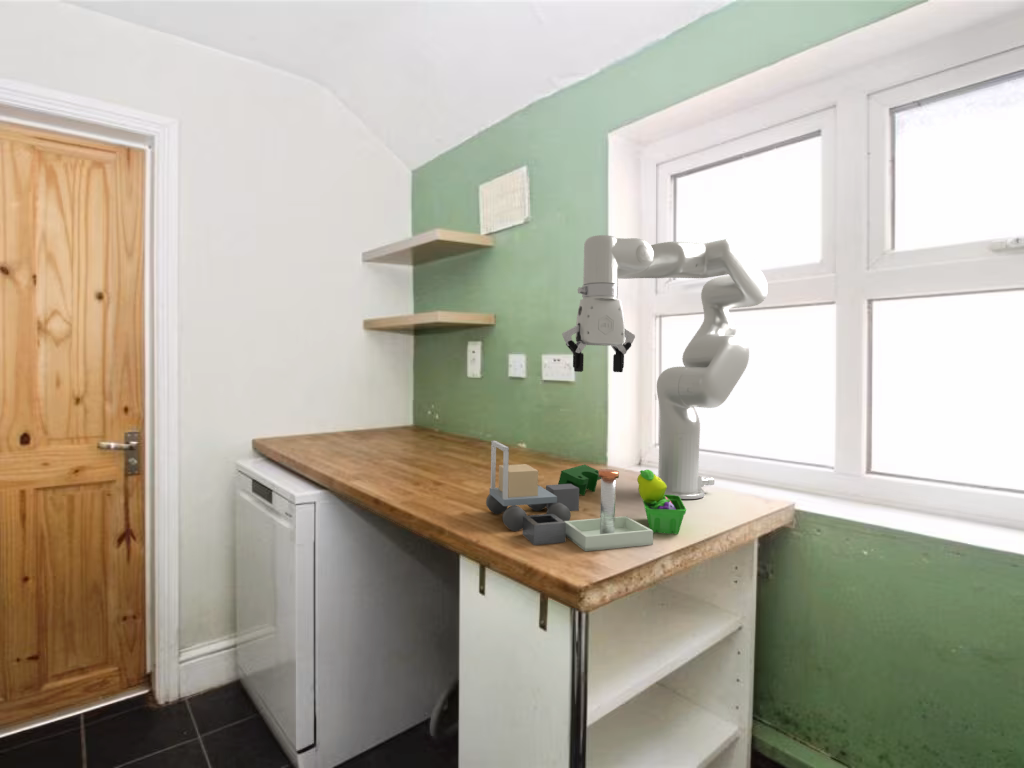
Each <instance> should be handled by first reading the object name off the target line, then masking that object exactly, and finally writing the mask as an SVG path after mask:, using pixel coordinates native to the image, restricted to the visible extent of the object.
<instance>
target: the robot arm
mask: <svg viewBox="0 0 1024 768" xmlns="http://www.w3.org/2000/svg"><path fill="white" fill-rule="evenodd" d="M713 277H714V278H713ZM582 278H583V280H582V281H583V282H582V283H583V284H582V286H579V287H578V288H577V293H578V294H580V295H582V296H581V298H582V299H580V300H579V305H578V310H577V316H576V325H574V326H573V327H571V328H569V329H567V330H565V331H563V332H562V334H561V335H562V338H563V340H564V342H565V346H567V348H568V349H569V350H570V352H571V353H572V368H573V369H574V372H578V373H579V372H580V373H581V372H583V371H584V360H585V358H584V353H583V352H582V351H583V350H584V348H586V346H606V347H607V346H608V347H609V346H610V347H611V348H612V349H613V351H614V352H615V354H613V358H612V359H613V360H612V363H613V364H612V371H613V373H623V371H624V366H625V355H626V354H627V353H628V350H629V349H630V348H631V347H632V344H633V342H634V340H635V338H636V335H635V334H634V333H632V332H631V331H630V330H627V329H626V328H625V317H624V316H625V315H624V309H623V304H622V300H621V299H618V295H619V293H618V292H619V290H618V288H619V286H618V285H619V280H621V279H622V280H623V279H625V280H626V279H629V280H630V279H633V280H634V279H669V278H670V279H677V278H678V279H708V278H711V279H709V280H708V281H707V282H706V283H705V284H704V285H703V287H702V289H701V293H700V296H701V297H700V298H701V299H700V300H701V304H702V308H703V322H702V324H701V326H700V327H699V329H698V330H697V332H696V333H695V335H694V336H693V337H692V338H691V340H690V342H689V343H688V344H687V345H686V347H685V349H684V351H683V353H682V358H681V359H682V364H683V365H684V366H673V367H668V368H667V369H664V370H663V371H662V372H661V373H660V374H659V376H658V377H657V380H656V395H657V398H658V405H659V435H658V436H659V441H658V443H659V444H658V447H659V448H658V473H657V474H658V475H657V477H659V478H660V479H661V480H662V481H664V482H665V484H666V486H667V488H666V491H665V494H664V495H676V496H679V497H680V499H681V500H697V499H701V498H703V497H705V491H704V489H702V488H703V487H705V486H713V485H715V479H714V478H713V477H705V478H703V476H701V475H699V467H700V466H699V463H700V461H699V460H700V439H701V438H700V435H701V423H700V418H699V415H698V413H697V411H696V409H695V408H702V409H703V408H704V409H705V408H707V409H711V408H712V409H713V408H717V407H720V406H721V405H722V404H723V403H725V402H726V400H727V399H728V398H729V396H730V395H731V393H732V392H733V390H734V388H735V386H736V385H737V383H738V382H739V380H740V379H741V377H742V375H743V374H744V373H745V371H746V368H747V367H748V364H749V360H750V350H749V349H750V348H749V346H748V344H747V342H746V341H745V340H744V339H743V338H742V337H740V336H738V335H736V332H737V330H736V329H737V328H736V324H735V321H734V320H733V318H732V316H731V314H730V310H729V309H739V308H750V307H754V306H759V305H760V304H762V303H763V302H764V301H765V300H766V298H767V296H768V291H769V290H768V289H769V288H768V282H767V279H766V277H765V275H764V273H763V272H762V271H761V270H760V268H759V266H758V265H757V263H756V262H755V259H753V257H752V256H751V255H750V253H749V252H748V250H746V248H745V247H744V246H743V245H742V244H741V243H740V242H738V241H737V240H736V239H733V238H726V239H720V240H717V241H711V242H706V243H697V242H684V241H683V242H682V241H665V242H659V243H654V244H649V242H647V241H646V240H644V239H641V238H632V237H631V238H628V237H627V238H618V237H615V236H612V235H608V234H600V235H599V234H598V235H593V236H589V237H588V238H586V240H585V241H584V247H583V276H582ZM573 335H575V341H576V342H575V341H574V340H573V338H572V336H573Z"/></svg>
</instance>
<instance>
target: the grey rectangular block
mask: <svg viewBox="0 0 1024 768" xmlns="http://www.w3.org/2000/svg"><path fill="white" fill-rule="evenodd" d="M545 489H546V490H547V491H549V492H551V493H552V494H554V495H555V496H557V503H562V504H563V505H565V506H566V507H568V508H569V510H570V512H577V511H579V510H580V494H579V488H578V487H576V486H574V485H572V484H557V483H556V484H545ZM552 504H554V503H547V506H546V507H545V508H546V509H547V510H548V508H549V506H550V505H552Z"/></svg>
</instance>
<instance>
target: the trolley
mask: <svg viewBox="0 0 1024 768" xmlns="http://www.w3.org/2000/svg"><path fill="white" fill-rule="evenodd" d="M490 442H491V443H490V444H491V445H490V446H491V448H490V452H491V453H490V454H491V455H490V462H491V463H490V487H489V494H488V496H487V497H486V500H485V504H486V507H487V509H488V510H490V512H491V513H493V514H495V515H499V514H502V522H503V524H504V525H505V527H507V529H508V530H509V531H510V530H511V531H512V532H519V531H521V530H523V516H528V515H527V512H526V511H525V510H524V509H523V508H522V507H520V506H525V505H527V506H528V507H529V508H530V509H531V510H532V511H535V512H540V511H542V510H544V509H545V508H546V506H547V503H554V504H552V505H550V506H549V508H548V509H547V510H546V513H545V514H554V515H556V516H557V517H558V518H560V519H561V520H563V521H571V516H572V514H571V511H570V510H569V508H568V507H566V506H565V505H563V504H562V503H557V496H555V495H554V494H552V493H551V492H549V491H547V490H546V488H544V487H543V486H541V485H539V470H538V469H536V468H535V467H532V466H530V465H529V464H527V463H523V464H519V463H518V464H509V457H510V455H509V454H510V453H509V450H510V448H509V446H507V445H505V444H503V443H502V442H499V441H498V440H491V441H490ZM497 448H498V450H500V451H502V452H503V454H502V455H503V458H502V459H503V461H502V464H499V465H498V487H496V480H497V479H496V477H497V474H496V473H497V470H496V468H497V466H496V465H497Z"/></svg>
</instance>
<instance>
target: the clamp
mask: <svg viewBox="0 0 1024 768" xmlns="http://www.w3.org/2000/svg"><path fill="white" fill-rule="evenodd" d="M598 481H601V477H599V470H598V469H596V468H594V467H591V466H588V465H586V464H581V465H578V466H575V467H571V468H566V469H563V470H561V471H560V474H559V479H558V484H572V485H574V486H576V487H578V488H579V496H580V495H581V496H585V495H586V491H587V490H588V491H591V492H592V493H594V492H595V491H596V488H597V484H598Z"/></svg>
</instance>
